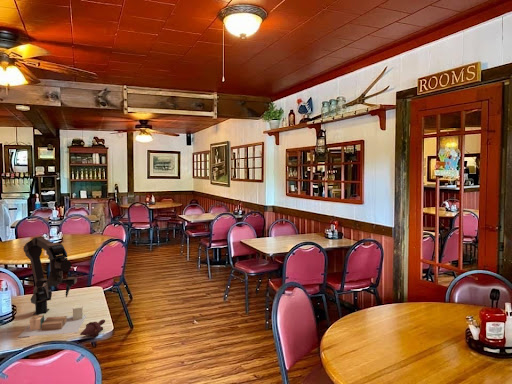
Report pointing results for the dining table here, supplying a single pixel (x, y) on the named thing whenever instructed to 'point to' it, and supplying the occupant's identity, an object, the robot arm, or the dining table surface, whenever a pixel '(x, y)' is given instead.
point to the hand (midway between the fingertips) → (57, 297)
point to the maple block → (36, 322)
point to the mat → (69, 327)
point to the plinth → (54, 323)
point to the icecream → (93, 328)
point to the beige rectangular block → (77, 312)
